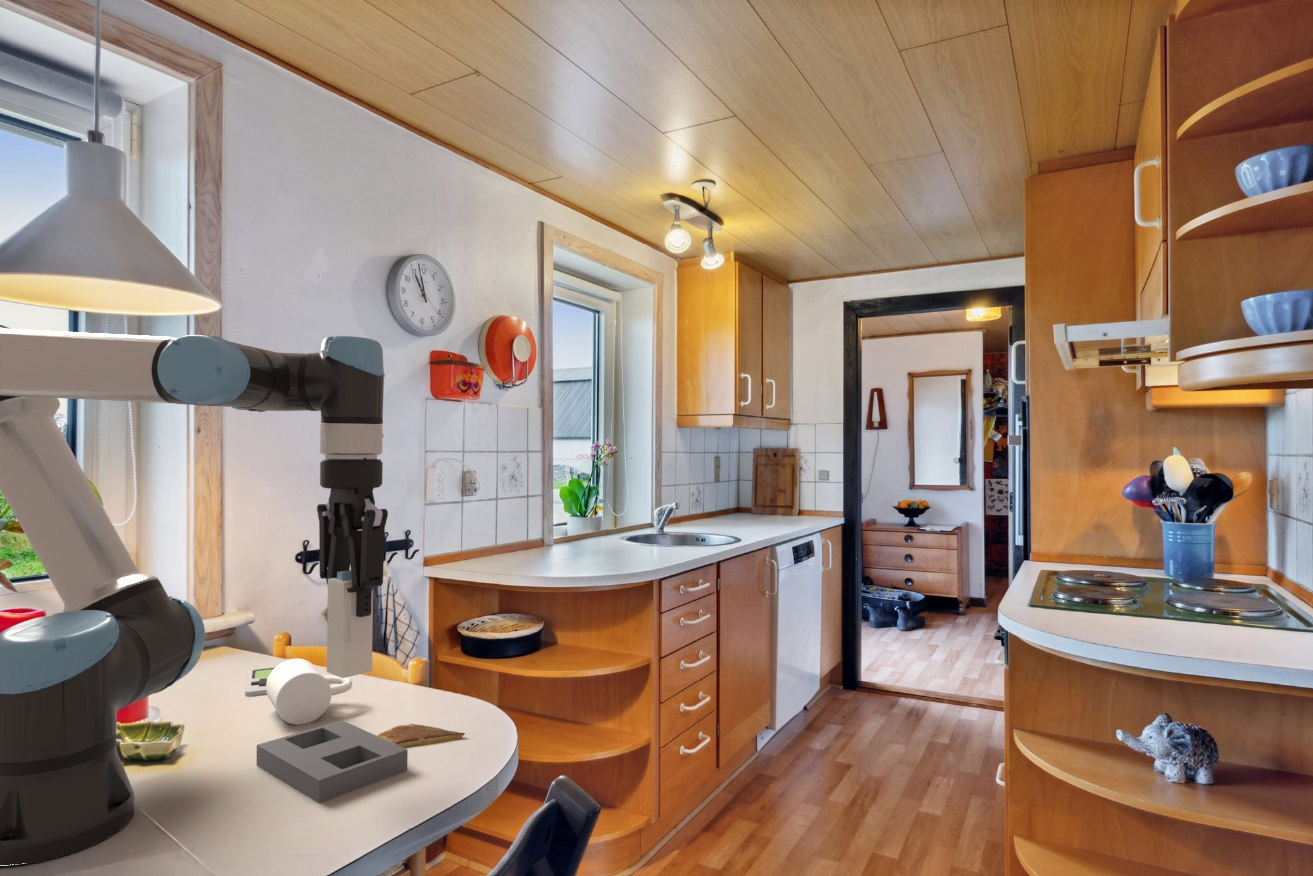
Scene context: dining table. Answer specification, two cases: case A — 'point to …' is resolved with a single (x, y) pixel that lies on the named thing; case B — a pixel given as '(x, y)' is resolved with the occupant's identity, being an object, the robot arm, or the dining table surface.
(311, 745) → the panel
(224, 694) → the dining table surface
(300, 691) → the mug
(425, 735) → the shard
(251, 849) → the dining table surface
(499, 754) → the dining table surface
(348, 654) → the plug
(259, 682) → the handheld gaming console
